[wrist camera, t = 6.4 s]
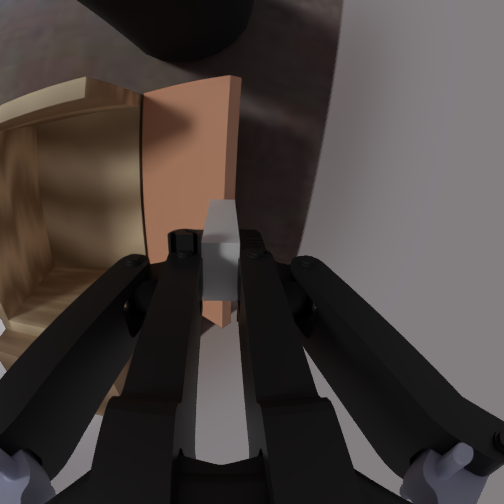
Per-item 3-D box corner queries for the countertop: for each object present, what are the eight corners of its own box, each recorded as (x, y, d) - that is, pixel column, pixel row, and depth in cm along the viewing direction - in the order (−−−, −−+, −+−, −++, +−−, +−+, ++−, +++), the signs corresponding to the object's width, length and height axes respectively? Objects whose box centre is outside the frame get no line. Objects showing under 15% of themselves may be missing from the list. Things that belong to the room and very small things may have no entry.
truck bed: (35, 116, 18) (-64, 132, 6) (144, 95, 20) (58, 69, 7) (67, 311, 29) (21, 391, 16) (158, 319, 30) (133, 421, 17)
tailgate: (143, 93, 19) (230, 75, 13) (153, 93, 19) (241, 77, 14) (151, 280, 26) (222, 328, 21) (159, 277, 27) (230, 322, 22)
